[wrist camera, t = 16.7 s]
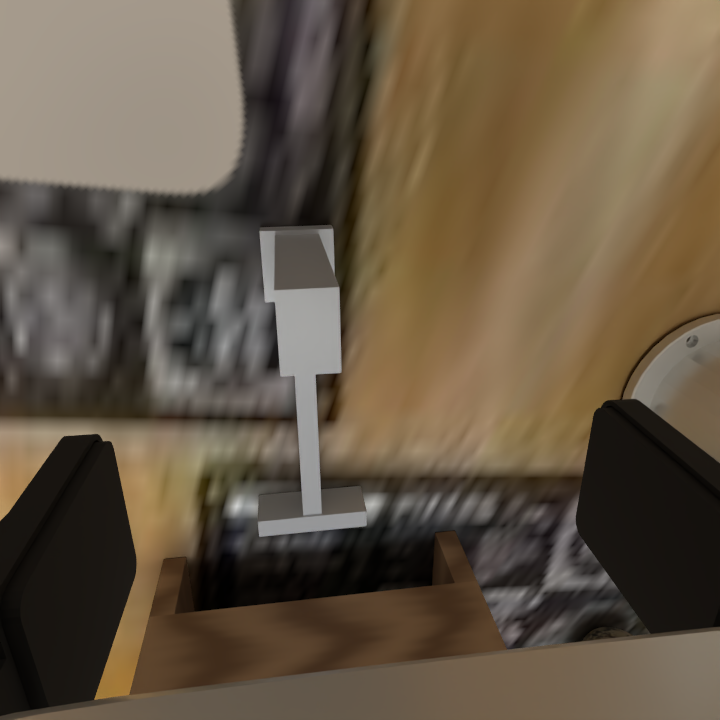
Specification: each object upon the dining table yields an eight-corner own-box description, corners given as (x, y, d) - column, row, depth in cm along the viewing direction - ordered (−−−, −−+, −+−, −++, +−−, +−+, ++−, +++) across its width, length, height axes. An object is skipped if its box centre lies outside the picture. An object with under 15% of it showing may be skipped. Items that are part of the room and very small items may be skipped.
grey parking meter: (357, 224, 32) (399, 277, 21) (360, 499, 40) (393, 644, 29) (232, 228, 31) (209, 286, 20) (260, 509, 39) (254, 662, 28)
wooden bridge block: (454, 530, 42) (521, 684, 30) (446, 635, 46) (502, 804, 35) (163, 559, 39) (118, 738, 28) (183, 667, 43) (150, 861, 32)
